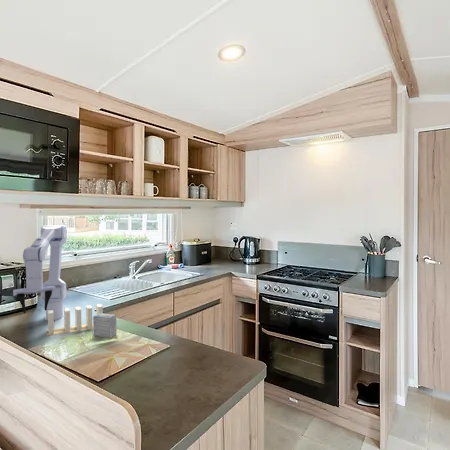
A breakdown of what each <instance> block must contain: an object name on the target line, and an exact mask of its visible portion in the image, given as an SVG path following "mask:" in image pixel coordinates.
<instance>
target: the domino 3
mask: <svg viewBox="0 0 450 450" xmlns="http://www.w3.org/2000/svg"><path fill="white" fill-rule="evenodd" d="M74 313H75V314H74V316H75V317H74V318H75V321H74V323H75V325H74V326H75V327H76V329H77V330H81V329H82V326H81V325H82V308H81V307H80V306H75V307H74Z"/></svg>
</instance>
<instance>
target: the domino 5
mask: <svg viewBox="0 0 450 450" xmlns="http://www.w3.org/2000/svg"><path fill="white" fill-rule="evenodd" d="M95 307H96V309H95V310H96V312H95V313H96V314H95V315H97V314H100V313H102V314H104V306H103V304H102V303H97V304H96V306H95Z"/></svg>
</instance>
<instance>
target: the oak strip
mask: <svg viewBox="0 0 450 450" xmlns="http://www.w3.org/2000/svg"><path fill="white" fill-rule="evenodd" d="M81 326H82V329H81V330H77V329H76V327H75V325H70V331H68V332H65V329H64V326H63V327H58V328H57V327H56V328H54V334H50V335H49V333H48V329H46V335H47V337H51V336H57V335H62V334H63V335H64V334H70V333H75V332H82V331H87V330H92V329H93V322H92V328H88V327H87V326H86V323H84V324H83V323H81Z"/></svg>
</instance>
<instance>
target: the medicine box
mask: <svg viewBox="0 0 450 450" xmlns="http://www.w3.org/2000/svg"><path fill="white" fill-rule="evenodd" d="M92 323H93V336H94V337H101V338H103V337H104V338H112V337H114V336H115V335H117V333H118V332H117V330H118V329H117V327H118V326H117V314H112V313H111V314H110V313H103V314H102V313H100V314H97V315H96V314H95V315H92Z"/></svg>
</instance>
